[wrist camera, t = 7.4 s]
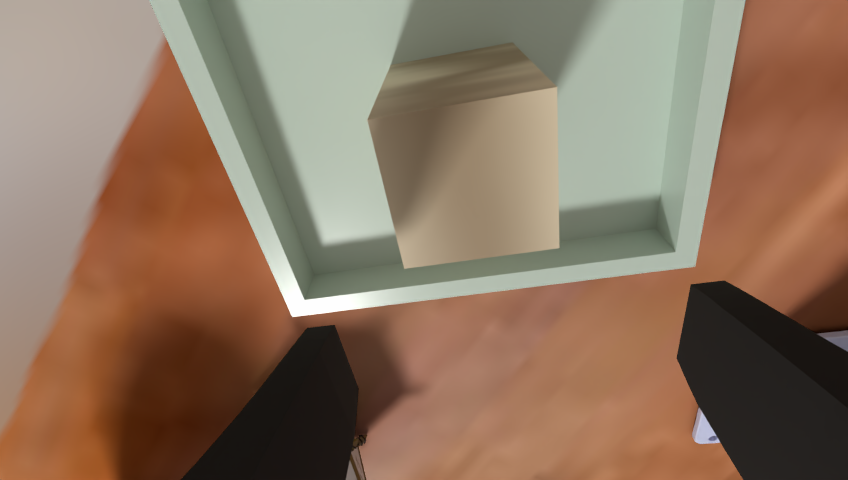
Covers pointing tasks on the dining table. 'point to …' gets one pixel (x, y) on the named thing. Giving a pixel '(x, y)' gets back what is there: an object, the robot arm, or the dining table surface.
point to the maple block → (469, 155)
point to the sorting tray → (440, 35)
